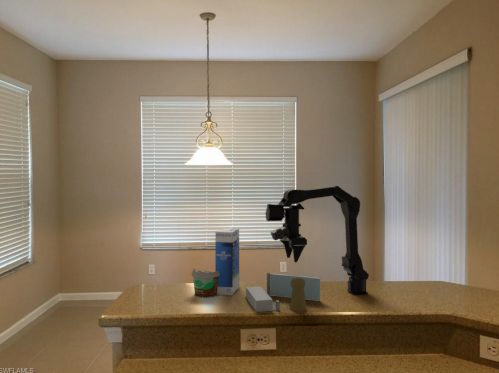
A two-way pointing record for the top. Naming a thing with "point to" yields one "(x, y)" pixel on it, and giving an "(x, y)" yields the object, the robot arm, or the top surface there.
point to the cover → (282, 286)
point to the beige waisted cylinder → (298, 295)
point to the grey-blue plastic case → (261, 298)
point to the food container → (205, 283)
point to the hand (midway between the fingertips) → (292, 259)
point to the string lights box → (227, 260)
